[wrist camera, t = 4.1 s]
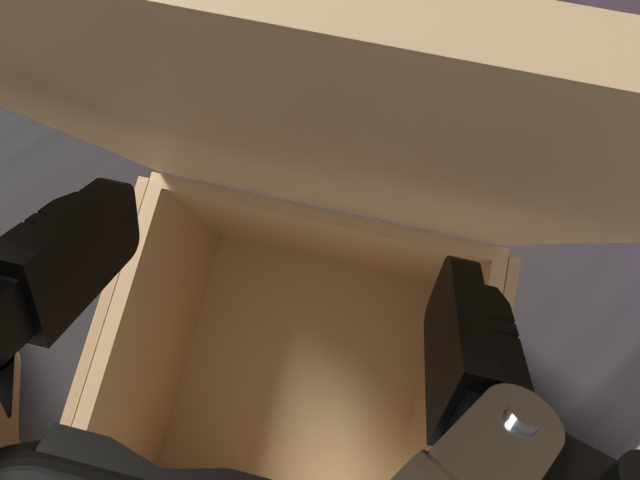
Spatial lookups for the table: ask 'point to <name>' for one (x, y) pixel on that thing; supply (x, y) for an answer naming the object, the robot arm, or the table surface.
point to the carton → (267, 336)
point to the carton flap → (355, 104)
